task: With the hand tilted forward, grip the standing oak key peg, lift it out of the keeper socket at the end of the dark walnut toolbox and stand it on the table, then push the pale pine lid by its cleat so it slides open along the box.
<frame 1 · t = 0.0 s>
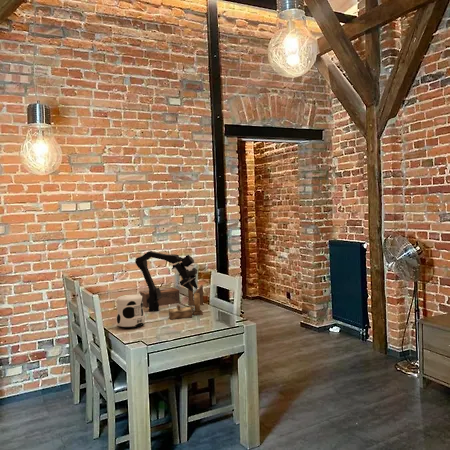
hand: (195, 289, 303), 15 cm above the table, tool tilted 35°, fingers open, 9 cm apart
wooden block: (195, 305, 323), on the table
milk container: (131, 326, 273), on the table
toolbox: (180, 317, 290), on the table
lid: (182, 307, 290), point 6 cm above the table, slide at 0.0 cm
key peg: (197, 314, 296), resting in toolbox
tissue box cover: (160, 304, 334), on the table
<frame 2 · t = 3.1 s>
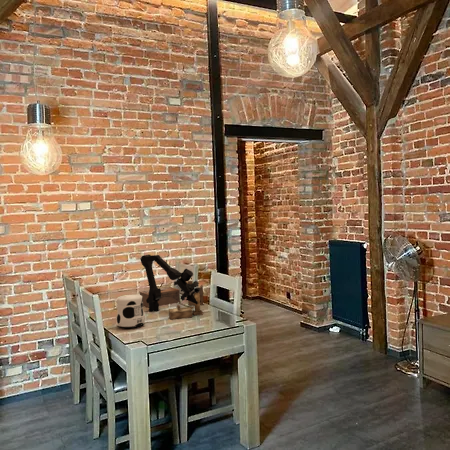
hand: (199, 303, 295), 8 cm above the table, tool tilted 45°, fingers closed on key peg, 4 cm apart
key peg: (197, 314, 296), resting in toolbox, touching gripper
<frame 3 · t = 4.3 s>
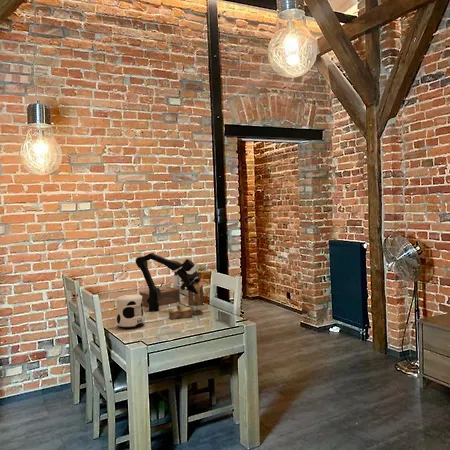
hand: (198, 293, 300), 13 cm above the table, tool tilted 45°, fingers closed on key peg, 4 cm apart
key peg: (197, 304, 301), point 6 cm above the table, touching gripper
when the fingers open (8 cm above the table, at t = 5.6 s): key peg stays where it is, on the table.
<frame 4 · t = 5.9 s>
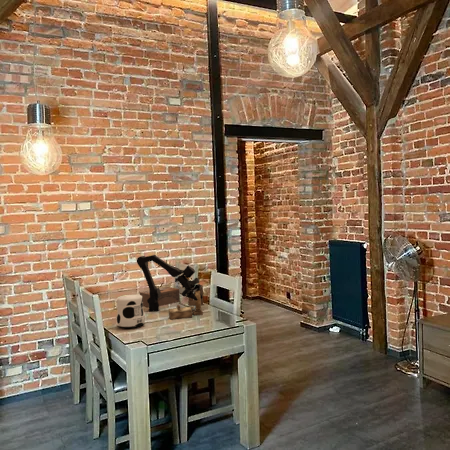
hand: (199, 299, 302), 9 cm above the table, tool tilted 45°, fingers open, 7 cm apart
key peg: (198, 311, 303), on the table
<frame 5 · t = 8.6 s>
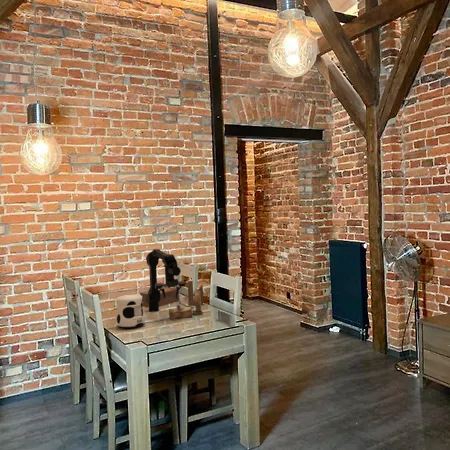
hand: (170, 298, 288), 13 cm above the table, tool pointing down, fingers open, 7 cm apart
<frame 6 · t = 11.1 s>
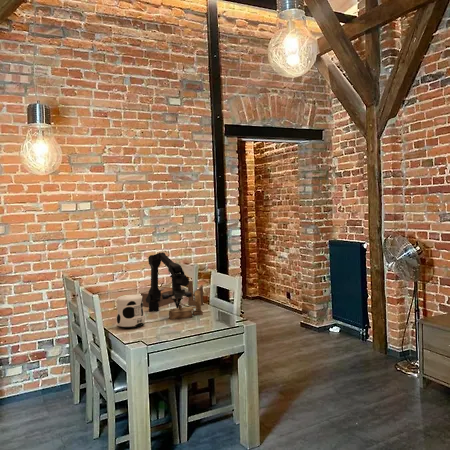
hand: (177, 308, 289), 6 cm above the table, tool pointing down, fingers closed
lid: (183, 307, 290), point 6 cm above the table, slide at 1.1 cm, touching gripper
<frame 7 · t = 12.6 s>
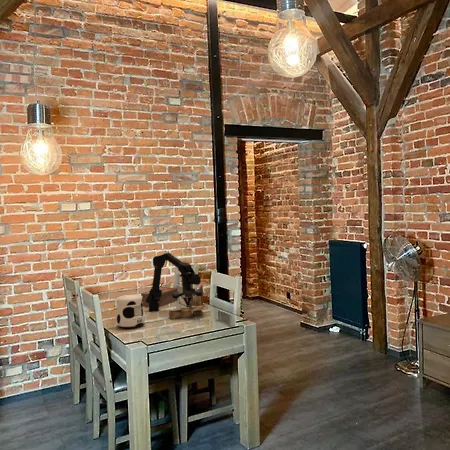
hand: (187, 307, 291), 6 cm above the table, tool pointing down, fingers closed
lid: (193, 306, 292), point 6 cm above the table, slide at 7.7 cm, touching gripper
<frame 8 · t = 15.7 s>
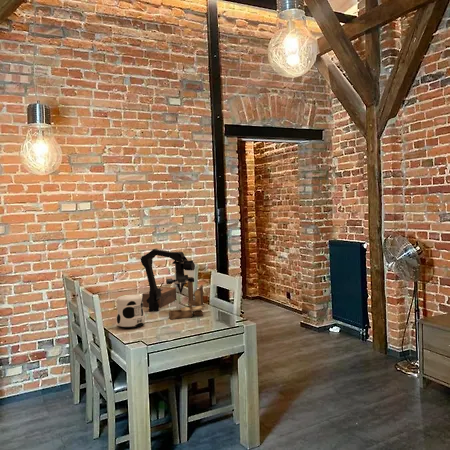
hand: (180, 293, 304), 13 cm above the table, tool pointing down, fingers closed
lid: (193, 306, 292), point 6 cm above the table, slide at 7.8 cm
at the end: lid slide at 7.8 cm; key peg moved 7.3 cm from its start; the gripper is holding nothing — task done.
